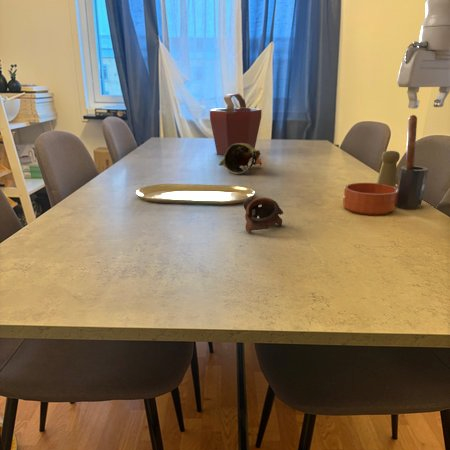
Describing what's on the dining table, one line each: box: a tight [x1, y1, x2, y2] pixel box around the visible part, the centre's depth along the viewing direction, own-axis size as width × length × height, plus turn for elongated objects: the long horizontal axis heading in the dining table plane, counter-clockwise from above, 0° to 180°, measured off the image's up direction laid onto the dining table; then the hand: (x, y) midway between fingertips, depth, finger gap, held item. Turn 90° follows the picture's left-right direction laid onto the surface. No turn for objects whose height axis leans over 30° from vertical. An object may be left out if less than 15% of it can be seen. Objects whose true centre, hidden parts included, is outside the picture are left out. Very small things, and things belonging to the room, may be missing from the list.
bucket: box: [209, 92, 262, 157], centre depth 193 cm, size 24×22×25 cm
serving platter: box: [135, 183, 256, 206], centre depth 127 cm, size 19×35×2 cm, turn 82°
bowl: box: [342, 182, 399, 216], centre depth 114 cm, size 13×13×6 cm
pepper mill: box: [376, 150, 401, 188], centre depth 135 cm, size 6×6×11 cm
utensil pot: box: [396, 165, 429, 210], centre depth 115 cm, size 7×7×10 cm
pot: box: [218, 143, 263, 175], centre depth 159 cm, size 17×11×18 cm
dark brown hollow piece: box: [242, 196, 284, 234], centre depth 100 cm, size 12×10×8 cm
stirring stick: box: [405, 114, 418, 170], centre depth 112 cm, size 2×2×22 cm
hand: (425, 107), depth 106 cm, fingers open, 8 cm apart
